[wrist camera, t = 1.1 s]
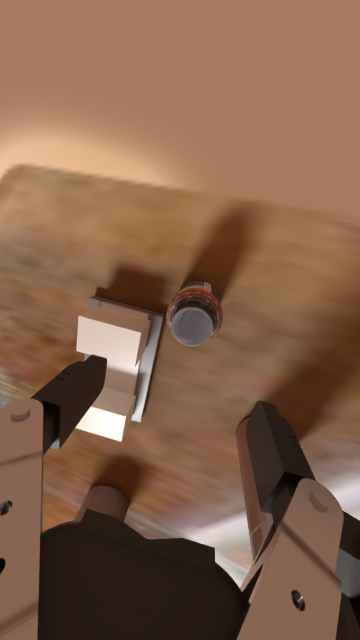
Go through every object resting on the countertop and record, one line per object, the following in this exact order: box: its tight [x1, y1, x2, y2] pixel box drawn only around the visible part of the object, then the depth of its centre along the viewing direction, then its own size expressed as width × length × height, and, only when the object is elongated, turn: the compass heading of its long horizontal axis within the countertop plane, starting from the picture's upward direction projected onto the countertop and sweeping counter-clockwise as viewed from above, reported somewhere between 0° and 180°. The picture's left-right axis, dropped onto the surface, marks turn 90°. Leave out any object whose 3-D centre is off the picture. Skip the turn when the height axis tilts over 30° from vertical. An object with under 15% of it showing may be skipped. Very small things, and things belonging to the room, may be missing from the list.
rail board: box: [75, 296, 165, 441], centre depth 32 cm, size 20×11×6 cm, turn 167°
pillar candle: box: [74, 485, 128, 522], centre depth 41 cm, size 10×10×15 cm
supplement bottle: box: [167, 280, 223, 347], centre depth 25 cm, size 6×6×11 cm
